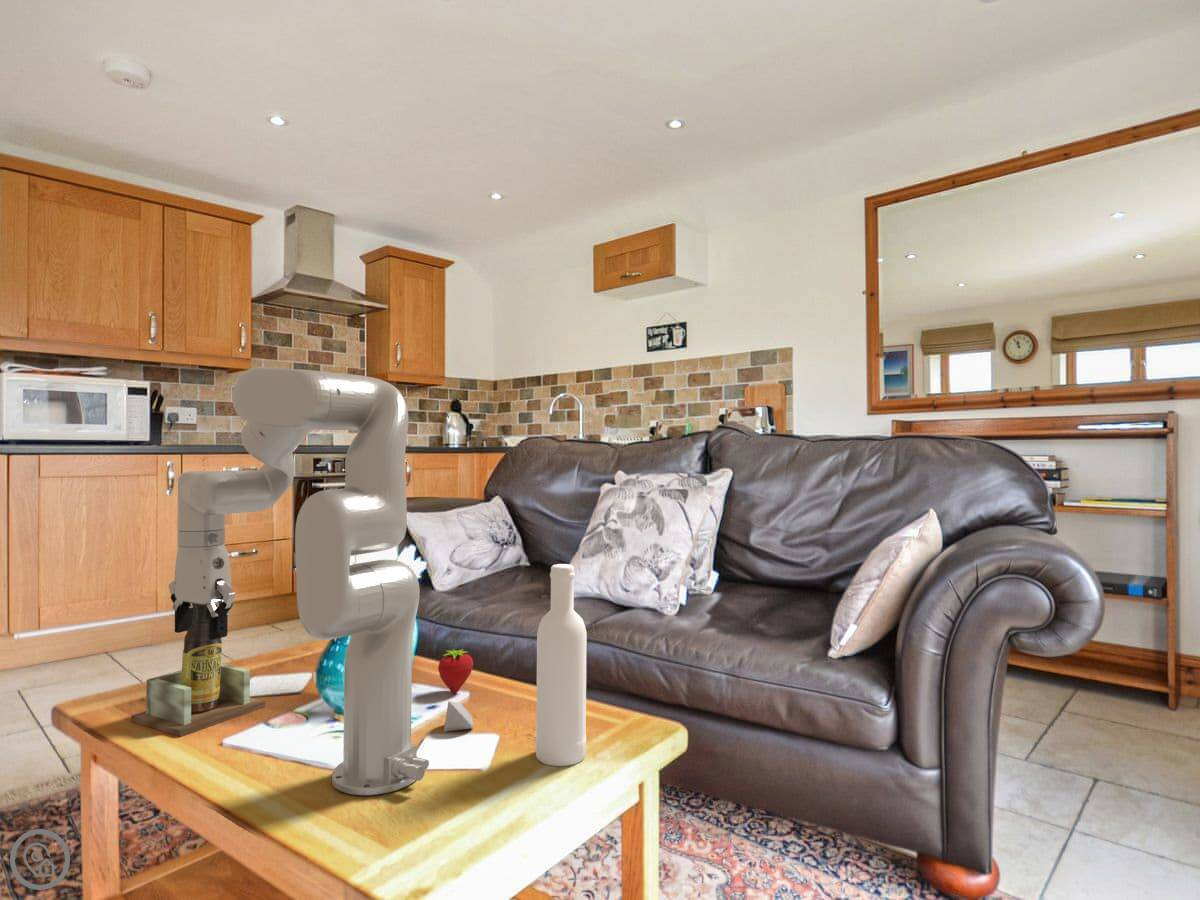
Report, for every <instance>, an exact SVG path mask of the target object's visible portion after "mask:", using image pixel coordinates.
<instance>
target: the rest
mask: <svg viewBox="0 0 1200 900" xmlns="http://www.w3.org/2000/svg"><path fill="white" fill-rule="evenodd" d="M181 675H182V669H181V670H176V671H172V672H169V673H165V674H163V675H158V676H155V677H152V678H148V679H146V692H145V693H146V696H145V697H146V701H145V702H146V703H145V705H146V709H145V710H146V711H142V712H138V713H135V714H133V715H130V716H131V717H130V718H131V722H132V723H135V724H138V725H142V726H144V727H148V728H151V729H155V730H158V731H161V732H163V733H167V734H170V735H174V736H177V737H180V738H181V737H184V736H187V735H189V734H193V733H196V732H198V731H201V730H203V729H207V728H209V727H213V726H214V725H218V724H220V723H221V724H222V723H223V722H226V721H229V720H231V719H235V718H238V717H239V716H243V715H246V714H248V713H252V712H253V711H257V710H259V709H262V708H265V707H266V701H265V700H261V699H257V698H253V697H251V695H250V693H251V669H247V668H244V667H239V666H234V665H230V664H225V663H221V674H220V694H219V698H218V704H217V706H216V707H215V708H213V709H210V710H208V711H204V712H195V713H191V687H187V686H183V685H181Z"/></svg>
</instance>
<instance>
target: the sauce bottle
mask: <svg viewBox="0 0 1200 900" xmlns="http://www.w3.org/2000/svg"><path fill="white" fill-rule="evenodd" d="M216 599H217V598H216ZM211 600H212V599H211ZM218 606H219V604H216V605H215V607H216V608H217V607H218ZM191 607H192V608H193V619H192V625H191V627H190V628H189V629H188V631H186V633H185V636H184V640H183V650H182V659H181V660H182V661H181V663H182V664H181V670H182V675H181V685H183V686H187V687H191V713H195V712H204V711H208V710H210V709H213V708H215V707H216V706H217V704H218V698H219V694H220V674H221V664H222V653H223V651H222V650H223V642H222V638H218V639H214V640H210V639H209V617H212V615H211V613H210V611H209V609H208V607H207V605H199V604H193V603H192V605H191Z"/></svg>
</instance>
